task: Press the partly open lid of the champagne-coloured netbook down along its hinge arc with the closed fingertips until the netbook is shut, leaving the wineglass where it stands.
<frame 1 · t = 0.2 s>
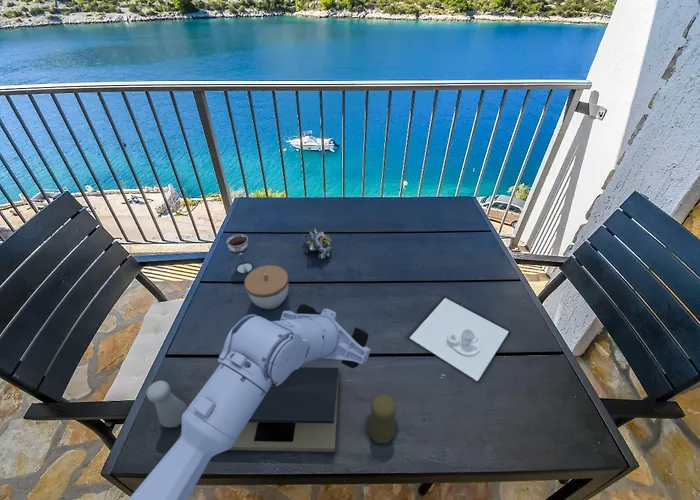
hand: (344, 330, 59), 32 cm above the table, tool tilted 50°, fingers open, 7 cm apart
lidded bowl: (271, 301, 108), on the table
netbook: (281, 409, 81), on the table
teacup and saucer: (459, 335, 97), on the table
salt shaker: (176, 419, 79), on the table
wineglass: (244, 268, 120), on the table
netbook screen: (278, 391, 78), point 6 cm above the table, hinge at 24.0°
passion flower: (317, 254, 126), on the table
olive peanut shape: (381, 429, 77), on the table
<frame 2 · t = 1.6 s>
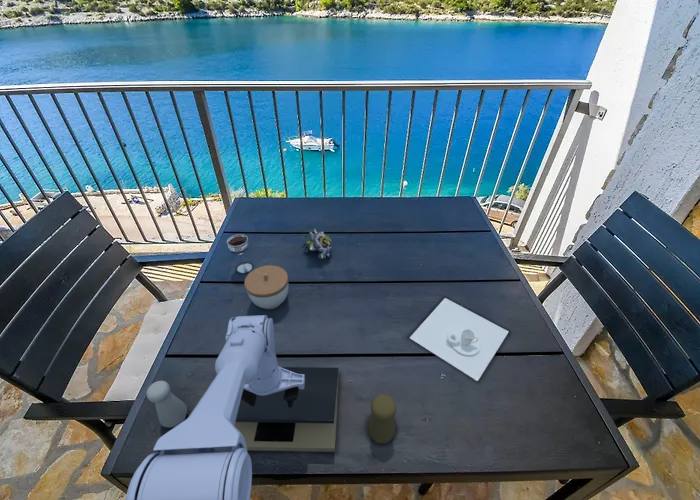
hand: (272, 402, 71), 11 cm above the table, tool pointing down, fingers open, 7 cm apart
nothing on the table moved.
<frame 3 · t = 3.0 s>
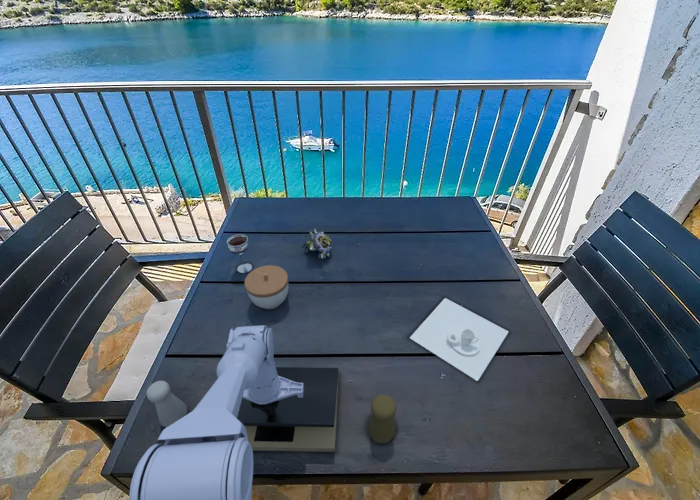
hand: (271, 410, 72), 8 cm above the table, tool pointing down, fingers closed, pressing on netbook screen
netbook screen: (278, 393, 78), point 5 cm above the table, hinge at 21.1°, touching gripper
everything else where it was.
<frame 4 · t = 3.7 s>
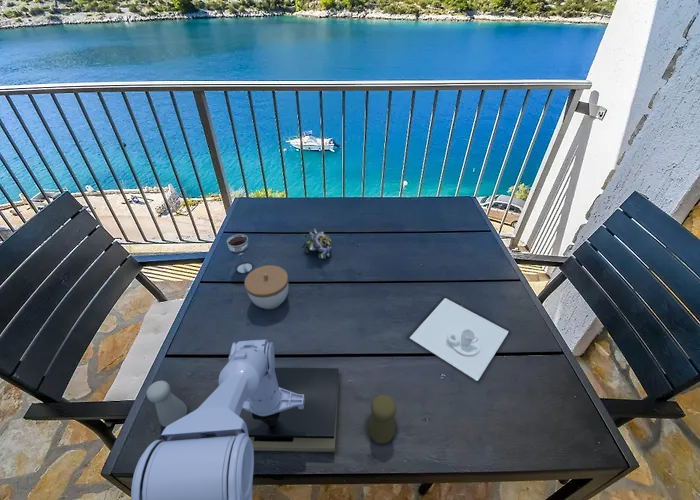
hand: (272, 421, 73), 6 cm above the table, tool pointing down, fingers closed, pressing on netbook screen
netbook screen: (278, 399, 78), point 4 cm above the table, hinge at 11.2°, touching gripper
everything else where it was.
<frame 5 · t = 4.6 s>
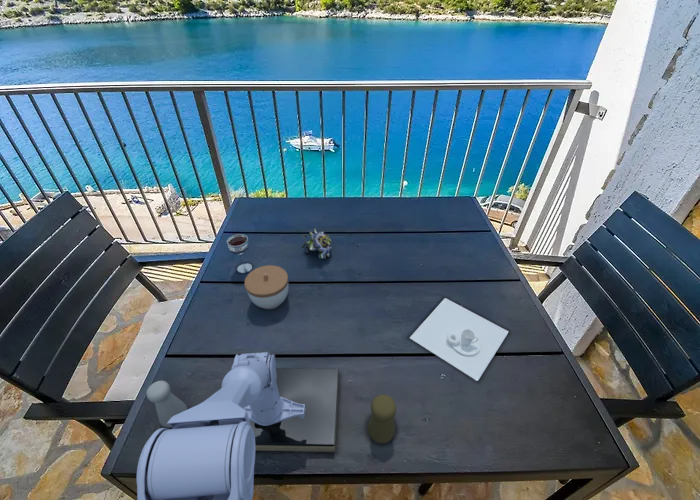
hand: (274, 429, 74), 3 cm above the table, tool pointing down, fingers closed, pressing on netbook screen
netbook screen: (279, 403, 79), point 3 cm above the table, hinge at 2.2°, touching gripper, netbook
everything else where it was.
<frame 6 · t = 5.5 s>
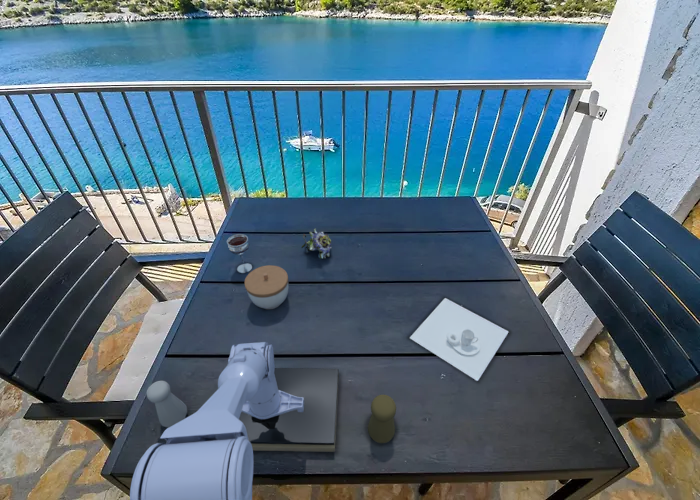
hand: (272, 424, 73), 6 cm above the table, tool pointing down, fingers closed
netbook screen: (279, 402, 79), point 3 cm above the table, hinge at 4.0°, touching netbook
everything else where it was.
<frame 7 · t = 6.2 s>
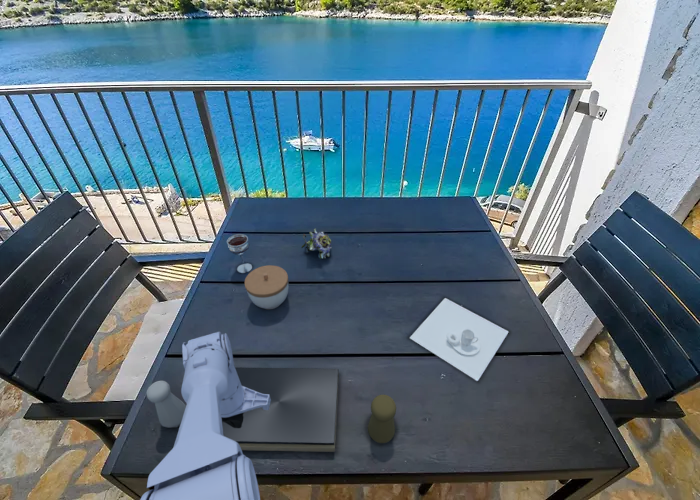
hand: (238, 423, 68), 10 cm above the table, tool pointing down, fingers closed
nothing on the table moved.
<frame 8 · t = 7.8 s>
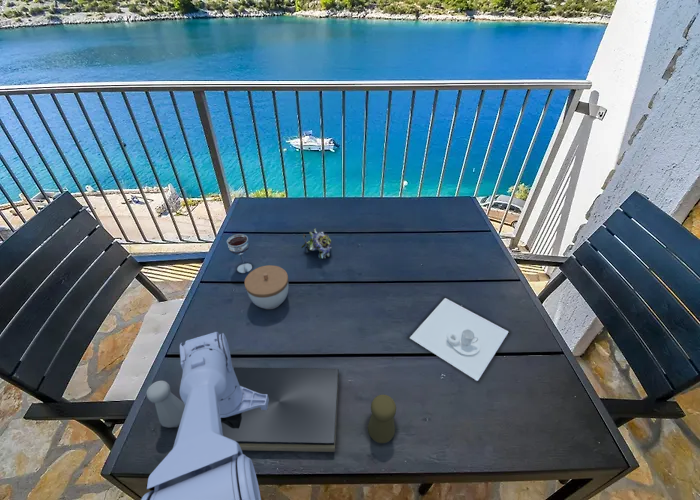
hand: (237, 423, 68), 10 cm above the table, tool pointing down, fingers closed
nothing on the table moved.
at the end: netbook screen at +4° (first picture: +24°); wineglass moved 0.2 cm from its start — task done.
